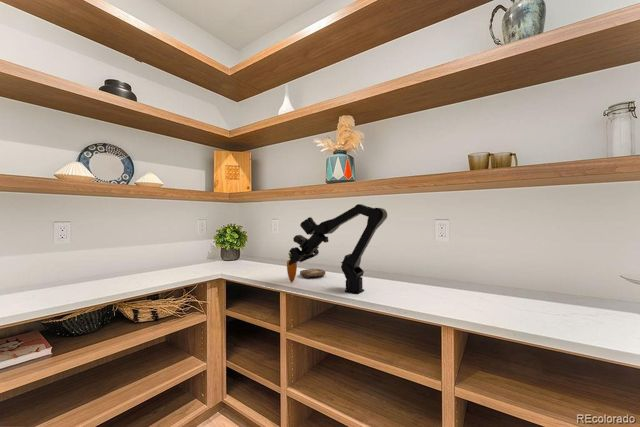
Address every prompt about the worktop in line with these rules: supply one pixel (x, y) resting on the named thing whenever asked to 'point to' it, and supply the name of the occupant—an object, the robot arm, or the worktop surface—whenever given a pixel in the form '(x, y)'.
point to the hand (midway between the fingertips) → (294, 263)
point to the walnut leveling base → (312, 273)
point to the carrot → (291, 269)
